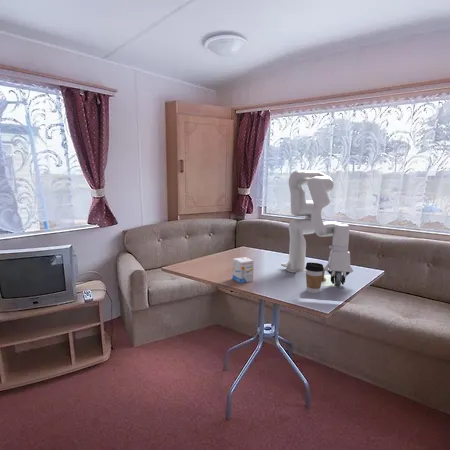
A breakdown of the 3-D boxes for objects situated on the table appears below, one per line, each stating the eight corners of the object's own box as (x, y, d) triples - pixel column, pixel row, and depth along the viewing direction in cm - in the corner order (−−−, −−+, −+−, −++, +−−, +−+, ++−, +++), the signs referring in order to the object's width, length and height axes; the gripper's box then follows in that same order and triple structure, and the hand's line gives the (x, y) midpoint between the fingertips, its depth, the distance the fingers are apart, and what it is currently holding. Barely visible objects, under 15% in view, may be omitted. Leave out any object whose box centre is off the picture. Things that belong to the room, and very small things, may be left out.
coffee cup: (301, 290, 155) (303, 261, 152) (318, 290, 155) (319, 261, 153) (307, 297, 146) (309, 266, 144) (324, 296, 147) (326, 266, 145)
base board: (316, 288, 158) (316, 285, 158) (312, 276, 177) (312, 274, 176) (342, 290, 156) (342, 287, 156) (335, 278, 175) (335, 275, 174)
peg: (334, 286, 157) (335, 271, 156) (333, 284, 160) (334, 269, 159) (341, 286, 156) (342, 271, 155) (340, 284, 159) (341, 269, 158)
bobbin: (315, 281, 164) (315, 269, 163) (314, 277, 170) (314, 266, 169) (326, 282, 163) (327, 270, 162) (325, 278, 169) (326, 266, 168)
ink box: (239, 283, 164) (240, 262, 162) (232, 278, 171) (232, 258, 169) (253, 281, 168) (254, 260, 166) (245, 276, 175) (246, 256, 173)
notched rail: (315, 275, 174) (315, 266, 173) (314, 274, 176) (315, 266, 175) (336, 276, 172) (336, 268, 171) (335, 275, 174) (336, 267, 173)
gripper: (323, 249, 153) (321, 284, 156) (359, 251, 150) (356, 287, 153) (321, 246, 160) (319, 279, 163) (355, 247, 157) (353, 282, 160)
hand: (337, 283), depth 158 cm, fingers open, 4 cm apart
